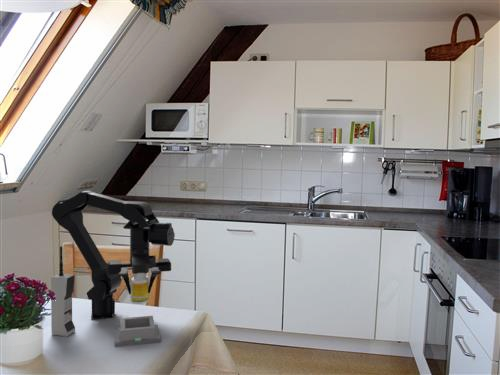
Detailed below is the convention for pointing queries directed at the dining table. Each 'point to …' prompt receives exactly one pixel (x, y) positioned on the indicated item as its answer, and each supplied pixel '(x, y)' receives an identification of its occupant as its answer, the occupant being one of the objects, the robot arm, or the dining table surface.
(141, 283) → the supplement bottle
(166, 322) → the dining table surface
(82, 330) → the dining table surface
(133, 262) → the robot arm
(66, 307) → the vintage mobile phone
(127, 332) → the charging dock
